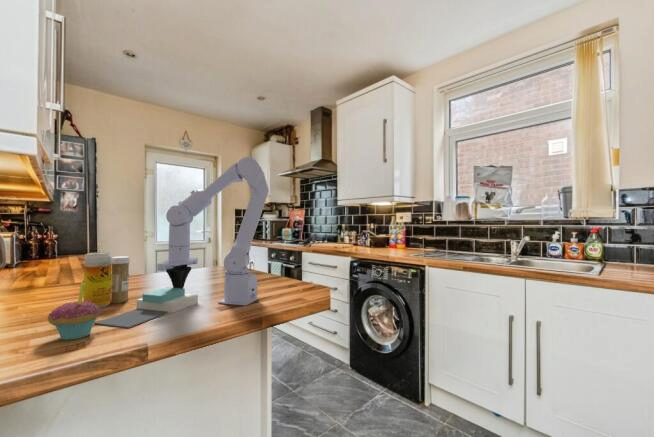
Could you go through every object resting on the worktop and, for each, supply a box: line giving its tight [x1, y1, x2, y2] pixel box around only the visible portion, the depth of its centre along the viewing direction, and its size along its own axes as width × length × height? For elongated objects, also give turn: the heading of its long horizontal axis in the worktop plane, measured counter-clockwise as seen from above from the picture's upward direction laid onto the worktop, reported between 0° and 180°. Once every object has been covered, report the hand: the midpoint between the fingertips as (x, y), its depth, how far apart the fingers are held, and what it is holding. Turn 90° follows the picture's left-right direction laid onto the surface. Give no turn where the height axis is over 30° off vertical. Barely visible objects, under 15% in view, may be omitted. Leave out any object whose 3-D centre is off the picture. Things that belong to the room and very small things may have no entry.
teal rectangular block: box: [141, 286, 186, 303], centre depth 84 cm, size 6×9×2 cm, turn 166°
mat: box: [93, 309, 170, 329], centre depth 75 cm, size 10×12×1 cm
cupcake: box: [47, 279, 101, 341], centre depth 63 cm, size 9×8×12 cm
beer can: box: [83, 251, 113, 309], centre depth 84 cm, size 6×6×15 cm
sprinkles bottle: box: [110, 255, 131, 304], centre depth 89 cm, size 5×5×13 cm
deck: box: [135, 293, 199, 314], centre depth 86 cm, size 12×10×2 cm
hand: (178, 291), depth 90 cm, fingers closed
